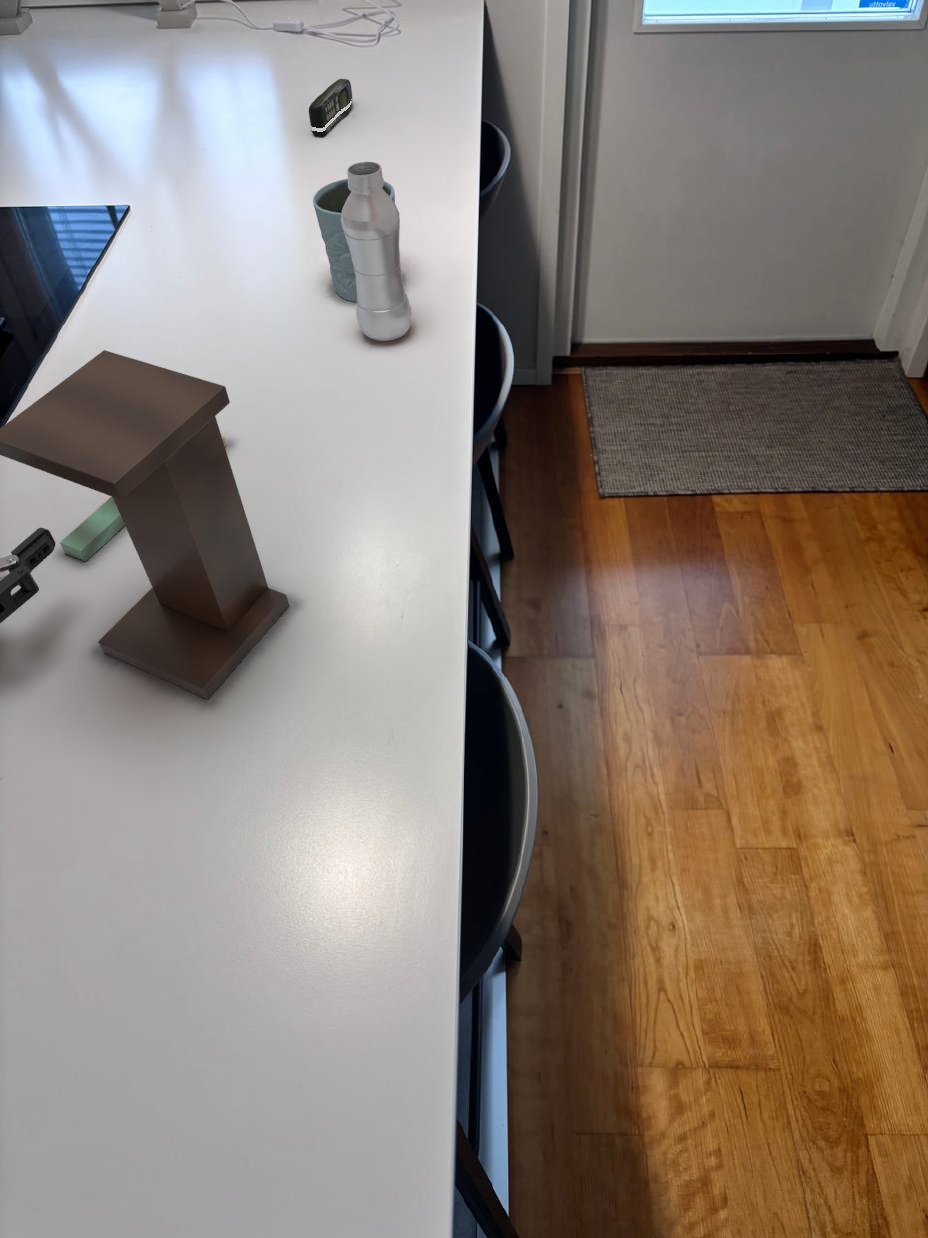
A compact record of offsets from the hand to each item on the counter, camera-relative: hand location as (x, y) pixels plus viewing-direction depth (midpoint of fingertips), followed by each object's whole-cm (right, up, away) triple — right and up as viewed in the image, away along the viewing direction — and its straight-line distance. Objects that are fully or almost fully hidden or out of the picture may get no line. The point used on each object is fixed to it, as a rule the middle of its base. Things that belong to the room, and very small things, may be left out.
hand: (15, 521), depth 85 cm
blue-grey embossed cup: (+28, +35, +40) cm, 60 cm away
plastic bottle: (+31, +26, +32) cm, 52 cm away
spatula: (+7, +4, +14) cm, 16 cm away
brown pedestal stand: (+16, -10, +1) cm, 19 cm away
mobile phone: (+18, +76, +77) cm, 110 cm away
